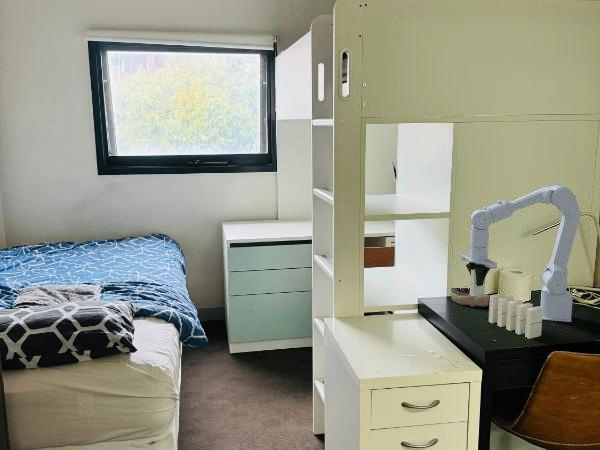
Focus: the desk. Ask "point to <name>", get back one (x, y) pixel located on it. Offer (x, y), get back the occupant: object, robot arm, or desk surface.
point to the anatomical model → (468, 297)
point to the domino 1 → (475, 285)
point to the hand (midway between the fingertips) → (477, 284)
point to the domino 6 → (533, 322)
